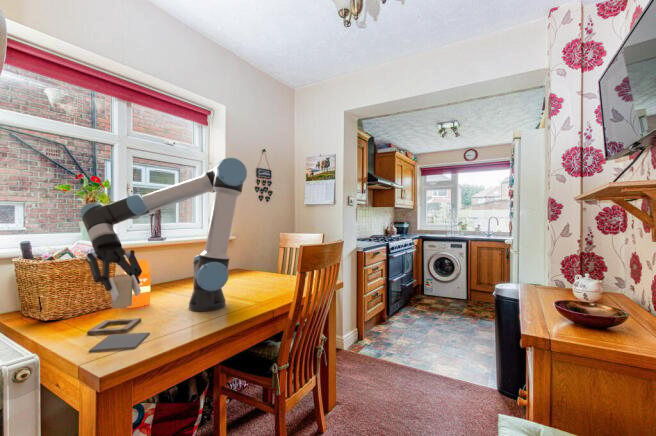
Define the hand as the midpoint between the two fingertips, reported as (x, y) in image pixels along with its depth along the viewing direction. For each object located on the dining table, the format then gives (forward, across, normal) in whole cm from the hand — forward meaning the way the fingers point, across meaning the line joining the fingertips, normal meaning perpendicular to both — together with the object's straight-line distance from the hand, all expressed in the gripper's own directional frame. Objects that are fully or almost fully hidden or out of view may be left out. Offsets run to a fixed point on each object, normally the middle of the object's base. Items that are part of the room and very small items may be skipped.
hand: (127, 295), depth 93 cm
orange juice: (-21, -23, -43) cm, 53 cm away
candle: (0, 0, -6) cm, 6 cm away
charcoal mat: (+8, 0, -13) cm, 16 cm away
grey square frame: (-3, -5, -25) cm, 25 cm away
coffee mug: (-26, +3, -47) cm, 54 cm away
